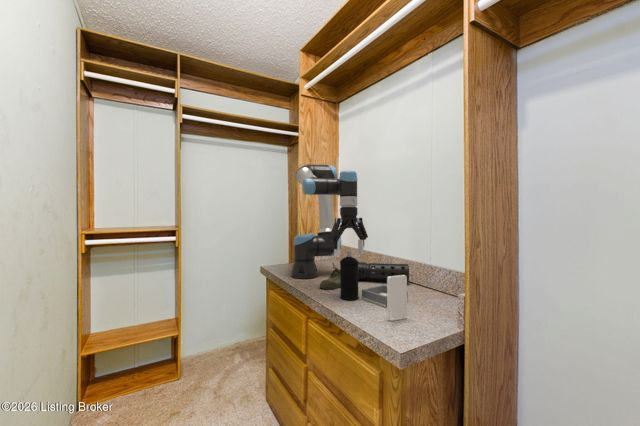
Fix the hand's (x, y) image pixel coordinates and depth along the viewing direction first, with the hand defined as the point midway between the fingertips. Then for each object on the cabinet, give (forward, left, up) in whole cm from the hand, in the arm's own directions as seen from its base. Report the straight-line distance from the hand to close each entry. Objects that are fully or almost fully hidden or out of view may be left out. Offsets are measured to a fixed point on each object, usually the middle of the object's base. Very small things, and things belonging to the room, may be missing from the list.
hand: (349, 255), depth 122 cm
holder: (+11, +10, -18) cm, 24 cm away
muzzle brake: (-12, +32, -19) cm, 39 cm away
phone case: (+28, -2, -19) cm, 34 cm away
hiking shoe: (-17, +7, -19) cm, 26 cm away
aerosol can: (0, 0, -19) cm, 19 cm away
